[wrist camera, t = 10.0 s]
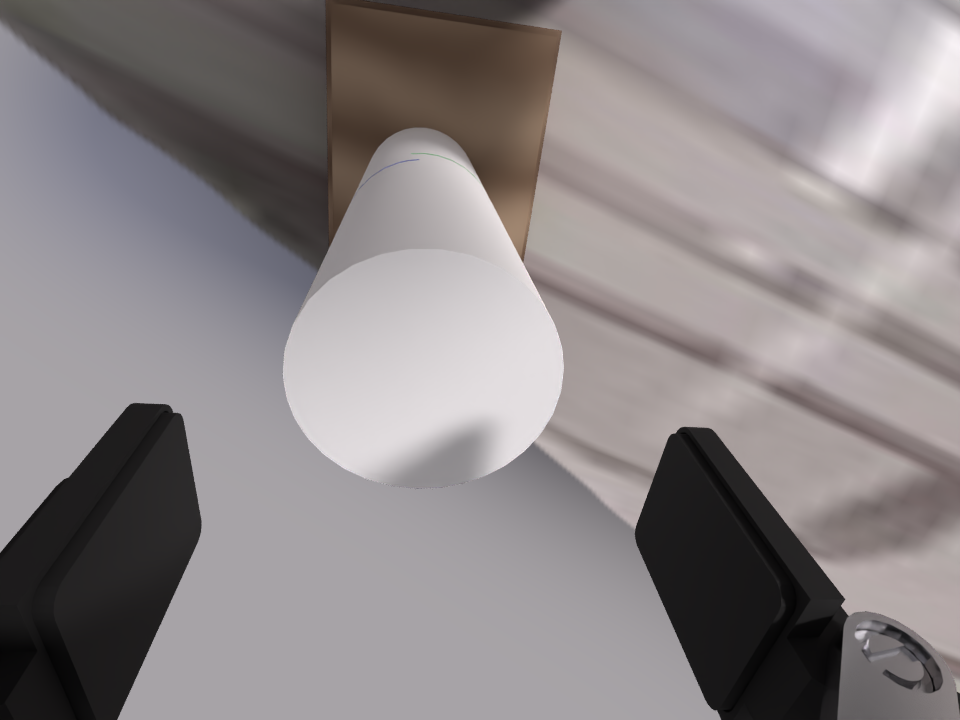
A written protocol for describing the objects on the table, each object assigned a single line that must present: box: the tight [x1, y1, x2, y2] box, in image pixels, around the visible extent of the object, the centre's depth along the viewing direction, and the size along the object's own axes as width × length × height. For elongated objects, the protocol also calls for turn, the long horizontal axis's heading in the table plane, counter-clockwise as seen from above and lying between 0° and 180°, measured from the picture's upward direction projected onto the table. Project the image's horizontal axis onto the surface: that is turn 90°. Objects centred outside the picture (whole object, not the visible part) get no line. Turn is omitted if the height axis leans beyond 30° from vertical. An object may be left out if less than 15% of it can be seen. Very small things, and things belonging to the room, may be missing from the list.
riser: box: [326, 0, 562, 262], centre depth 37 cm, size 16×14×6 cm
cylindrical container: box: [283, 127, 564, 489], centre depth 25 cm, size 7×7×25 cm
